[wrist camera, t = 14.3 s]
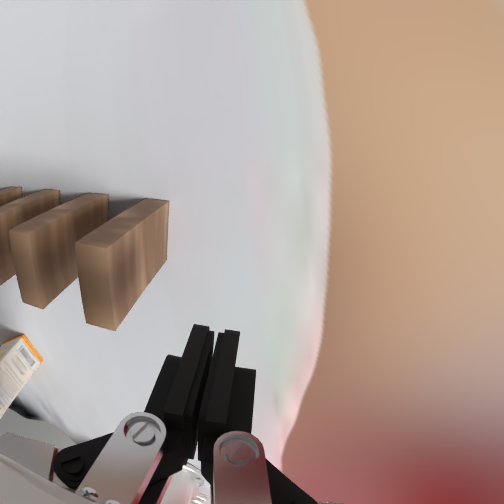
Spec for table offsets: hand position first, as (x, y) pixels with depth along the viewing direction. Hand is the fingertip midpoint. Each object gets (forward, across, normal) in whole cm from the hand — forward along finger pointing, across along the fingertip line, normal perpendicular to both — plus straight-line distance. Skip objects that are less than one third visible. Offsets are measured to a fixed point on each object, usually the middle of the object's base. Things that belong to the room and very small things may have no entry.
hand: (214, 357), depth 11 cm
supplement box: (+13, +30, +22) cm, 39 cm away
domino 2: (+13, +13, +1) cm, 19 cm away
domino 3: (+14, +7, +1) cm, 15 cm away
